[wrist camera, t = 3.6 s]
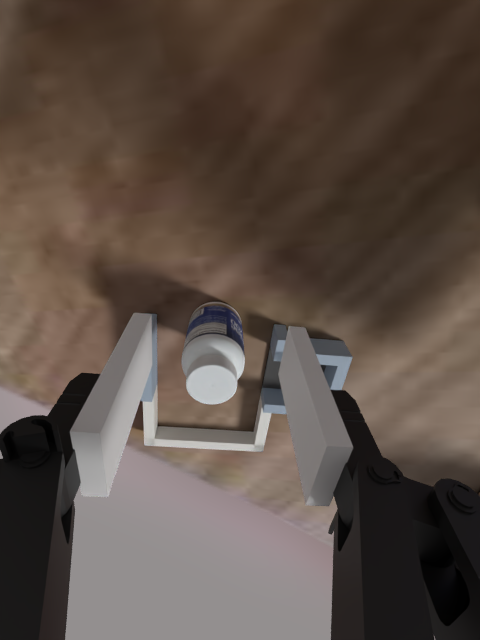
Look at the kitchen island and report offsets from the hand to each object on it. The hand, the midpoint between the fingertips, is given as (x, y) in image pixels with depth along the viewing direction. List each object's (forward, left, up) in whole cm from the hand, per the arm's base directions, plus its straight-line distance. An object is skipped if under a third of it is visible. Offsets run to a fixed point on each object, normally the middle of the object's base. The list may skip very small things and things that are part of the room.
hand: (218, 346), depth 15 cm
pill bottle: (+9, 0, -17) cm, 19 cm away
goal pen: (+21, 0, -17) cm, 27 cm away
